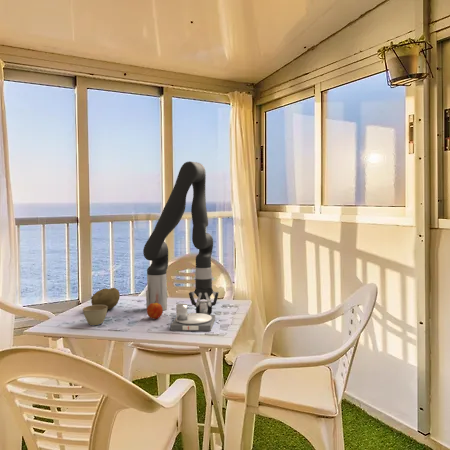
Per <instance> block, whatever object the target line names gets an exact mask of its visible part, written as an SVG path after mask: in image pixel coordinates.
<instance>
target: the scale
mask: <svg viewBox="0 0 450 450" xmlns="http://www.w3.org/2000/svg"><path fill="white" fill-rule="evenodd" d="M187 318H188V319H187V320H185V321H178V320H177V316H176V317H175V319H174V320H173V322H172V323H171V324H170V331H174V332H175V331H177V332H178V331H181V332H182V331H184V332H185V331H187V332H192V331H193V332H195V331H196V332H211V331H212V329H213V326H214V323H215V321H216V314H210V315H207V314H202V313H196V312H195V313H193V312H192V313H187Z"/></svg>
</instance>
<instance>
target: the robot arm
mask: <svg viewBox="0 0 450 450" xmlns="http://www.w3.org/2000/svg"><path fill="white" fill-rule="evenodd" d="M206 173H207V172H206V169H205V167H204V165H203V164H202V163H200V162H197V161H185V162H184V163H183V164H182V165H181V167H180V169H179V171H178V174H177V177H176V181H175V183H174V185H173V188H172V190H171V193H170V195H169V197H168V200H167V201H166V203H165V205H164V207H163V209H162V212H161V215H160V216H159V219H158V220H157V221H156V222H157V223H156V225H155V227H154V229H153V231H152V232H151V234H150V236H149V237H148V239H147V241H146V242H145V244H144V246H143V251H142V253H143V257H144V258H145V259H146V260H147V261H151V264H150V266H148V267H147V269H146V278H147V279H146V280H147V281H146V283H147V289H146V291H145V296H146V297H145V298H146V303H145V306H146V309H147V308H148V306H149V305H150V304H151V303H159V304H160V305H161V306H162V308H163V312H164V311H166V310H167V309H168V298H167V297H168V287H167V285H168V284H167V282H168V281H167V277H168V275H167V270H168V267H169V247H168V244H167V243H166V242H165V240H166V238H167V237H168V235H170V234H171V232H173V231H174V229H176V227H177V226H178V224H179V223H180V222H181V219H182V218H183V216H184V213H185V210H186V205H187V202H186V201H187V195H188V193H189V190H190V188H191V186H192V190H193V191H192V193H193V194H192V201H191V209H190V210H191V221H192V234H191V240H192V244H193V246H194V248H195V249H197V250H198V254H197V255H196V256H195V271H194V275H195V277H194V281H195V286H194V287H195V288H194V291H189V293H188V296H189V300H190V302H191V305H192V306H195V313H199V302H200V301H207V302H208V305H209V307H208V312H209V315H212V312H213V306H216V304H217V301H218V297H219V291H215V290H213V274H212V273H213V272H212V271H213V270H212V254H213V250H214V249H213V248H214V239H213V235H212V234H210V233H208V232H207V227H208V226H209V218H208V217H209V216H208V211H207V203H206V201H207V200H206V199H207V198H206V178H207V177H206V176H207V175H206ZM212 295H213V297H214V298H213V301H212V299H211V296H212ZM194 296H196V297H197V300H196V301H195V297H194ZM155 301H156V302H155Z"/></svg>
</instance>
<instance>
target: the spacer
mask: <svg viewBox="0 0 450 450" xmlns="http://www.w3.org/2000/svg"><path fill="white" fill-rule="evenodd" d="M208 307H209V305H208V302H207V300H200V302H199V313H202V314H207V315H209V312H208Z"/></svg>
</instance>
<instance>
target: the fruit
mask: <svg viewBox="0 0 450 450" xmlns="http://www.w3.org/2000/svg"><path fill="white" fill-rule="evenodd" d="M155 302H156V301H155ZM163 313H164V311H163V308H162V306H161V305H160V304H159V303H151V304H150V305H149V306H148V308H146V314H147V316H148V317H149V318H150V319H152V320H158V319H159V318H160V317H161V316H162V315H163Z"/></svg>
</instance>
